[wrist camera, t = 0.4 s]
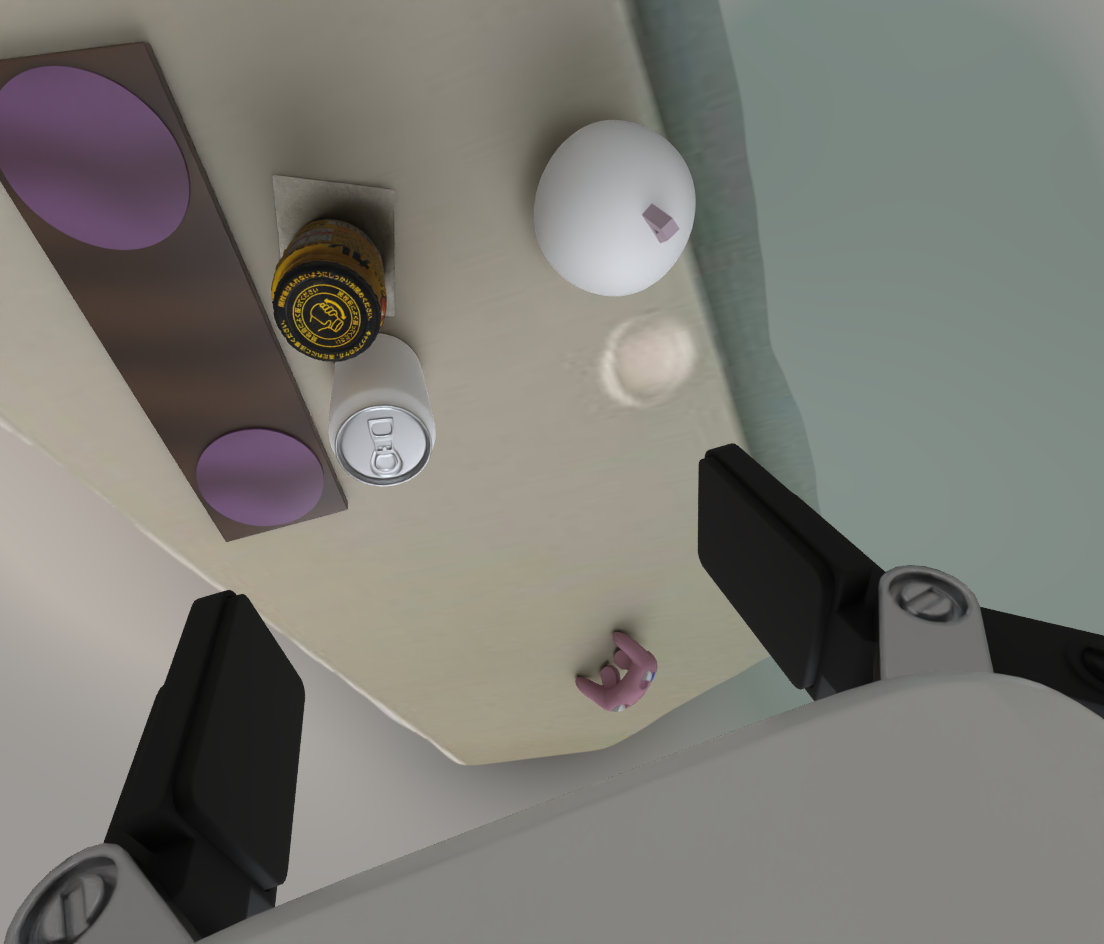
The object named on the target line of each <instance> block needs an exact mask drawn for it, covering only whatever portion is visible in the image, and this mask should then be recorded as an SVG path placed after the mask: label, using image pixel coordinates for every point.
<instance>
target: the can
mask: <svg viewBox="0 0 1104 944" xmlns="http://www.w3.org/2000/svg"><path fill="white" fill-rule="evenodd" d="M329 440H330V444H331V447H332V450H333V452H334V454H335V455H336V457H337V459H338V462H339V463H340V465H341V467H342V468H343V469H344V470H345V471H346V472H347V473H348V474H349V475H350V476H351V477H353V478H354V479H356V480H358V481H360V482H362V483H365V484H369V485H373V486H393V485H398V484H401V483H404V482H406V481H408V480H410V479H412V478H413V477H415V476H416V475H417V474H419V473H420V472H421V471H422V470H423V468H424V467H425V466H426V464H427V462H428V460H429V458H430V455H431V451H432V449H433V446H434V442H435V423H434V418H433V413H432V409H431V405H430V400H429V396H428V392H427V388H426V384H425V380H424V376H423V372H422V368H421V365H420V362H419V360H418V358H417V356H416V354H415V353H414V351H413V350H412V349H411V348H410V347H409V346H408V345H407V344H406V343H404V342H403V341H401V340H400V339H398V338H396V337H393V336H390V335H387V334H380V333H378V335H377V337H376V339H375V341H374V342H373V343H372V344H371V346H370V347H369V348H368V349H367V350H366V351H364V352H363V353H361V354H360V355H358V356H357V357H355V358H351V359H348V360H346V361H342V362H335V367H334V374H333V383H332V393H331V403H330V414H329Z"/></svg>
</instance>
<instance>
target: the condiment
mask: <svg viewBox="0 0 1104 944" xmlns="http://www.w3.org/2000/svg"><path fill="white" fill-rule="evenodd" d="M272 180H273V190H274V199H275V210H276V217H277V228H278V237H279V245H280V254H281V259H280V261H279V262H278V264H277V266H276V271H275V273H274V278H273V282H272V288H271V290H272V298H273V302H272V303H273V309H274V317H275V320H276V323H277V326H278V328H279V329H280V330H281V332H282V334H283V335H284V337H285V338H286V340H287V342H288V343H289V344H290V345H291V346H292V347H294V348H295V349H296V350H298V351H299V352H301V353H303V354H305V355H307V356H309V357H311V358H314V359H318V360H322V361H331V362H342V361H346V360H348V359H351V358H355V357H357V356H358V355H360V354H361V353H363V352H364V351H366V350H367V349H368V348H369V347H370V346H371V344H372V343H373V342H374V341H375V339H376V337H377V335H378V332H379V329H380V327H381V325H382V324H383V322H384V318H385V316H386V317H395V295H394V190H391V189H383V188H376V187H368V186H360V185H353V184H344V183H336V182H328V181H320V180H311V179H303V178H295V177H286V176H278V175H272Z"/></svg>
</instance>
